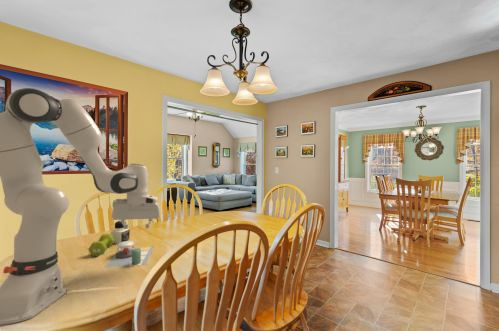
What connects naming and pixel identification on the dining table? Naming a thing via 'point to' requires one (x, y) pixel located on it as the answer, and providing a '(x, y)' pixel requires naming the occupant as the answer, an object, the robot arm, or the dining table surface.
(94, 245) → the dumbbell
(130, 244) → the dome
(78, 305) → the dining table surface
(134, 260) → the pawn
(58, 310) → the dining table surface
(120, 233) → the medicine bottle
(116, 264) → the game board
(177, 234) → the dining table surface
